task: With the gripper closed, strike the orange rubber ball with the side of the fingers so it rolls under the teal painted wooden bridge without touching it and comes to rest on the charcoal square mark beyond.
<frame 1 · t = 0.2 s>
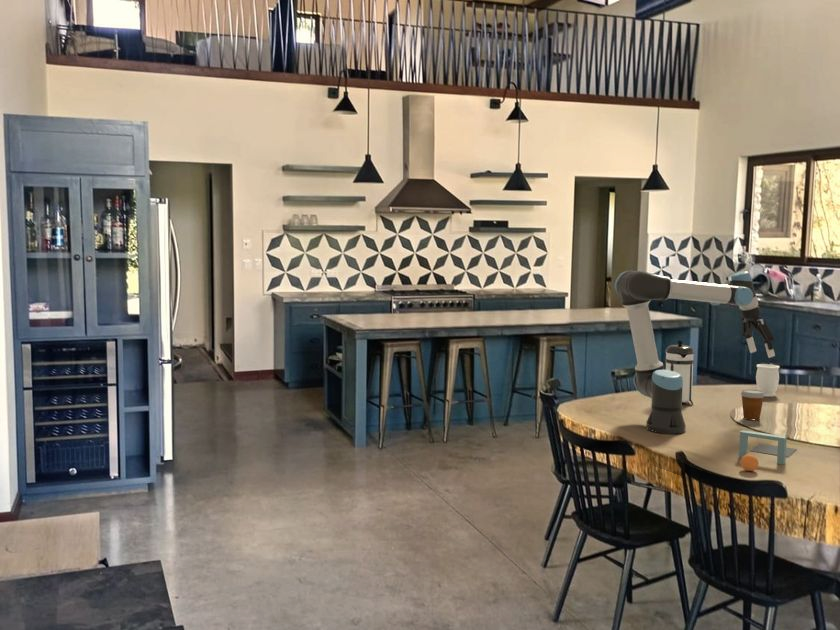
hand: (762, 354, 325), 28 cm above the table, tool tilted 20°, fingers open, 13 cm apart
bridge: (761, 460, 265), on the table
ball: (749, 462, 253), on the table
disposable coffee cup: (751, 419, 328), on the table
jar: (766, 395, 378), on the table
coffee press: (676, 402, 361), on the table
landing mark: (773, 450, 278), on the table
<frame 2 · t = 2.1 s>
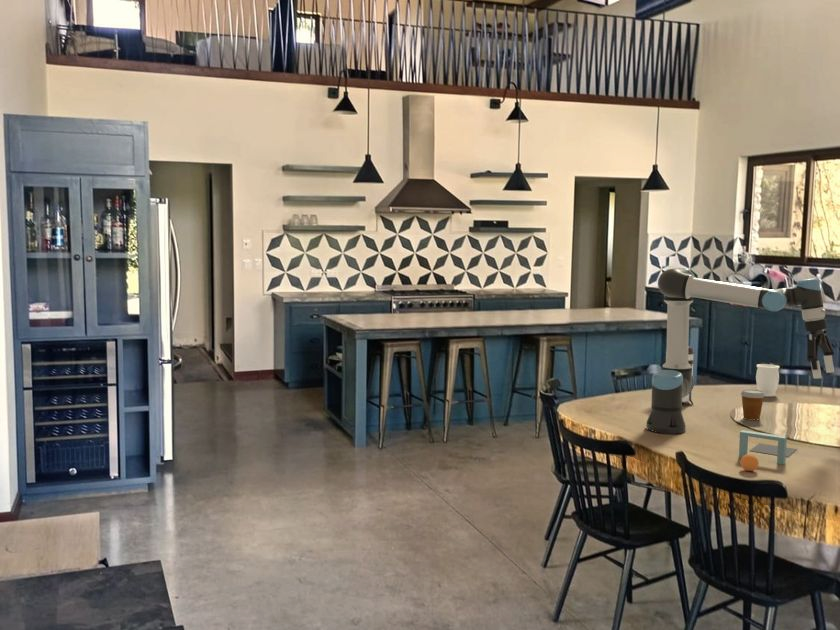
hand: (824, 375, 287), 26 cm above the table, tool pointing down, fingers open, 13 cm apart
nothing on the table moved.
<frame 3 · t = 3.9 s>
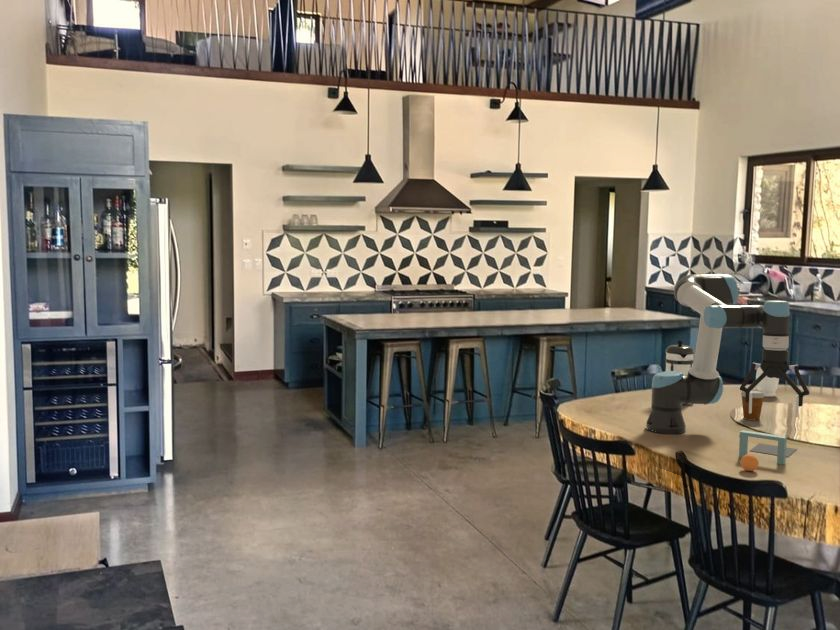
hand: (773, 414, 246), 20 cm above the table, tool pointing down, fingers open, 13 cm apart
nothing on the table moved.
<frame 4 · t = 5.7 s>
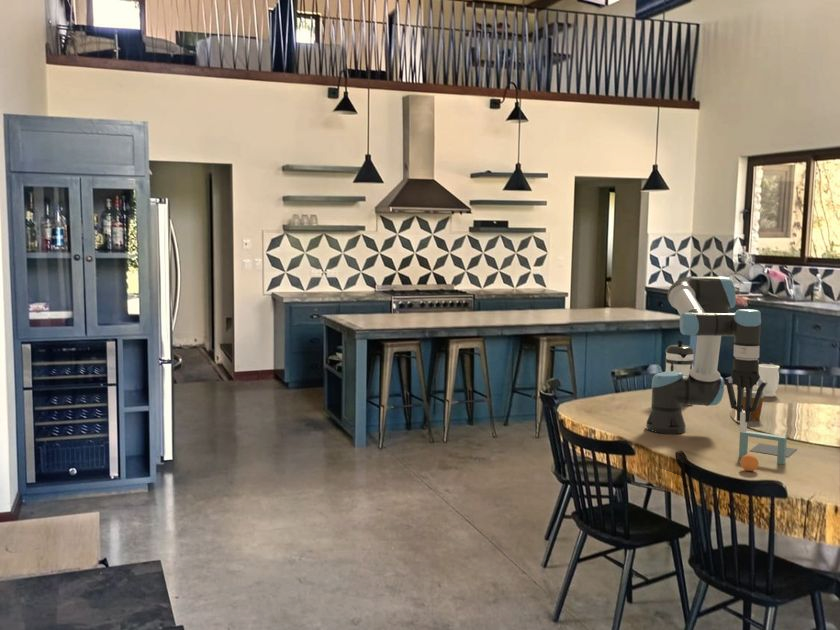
hand: (743, 431, 244), 15 cm above the table, tool pointing down, fingers closed
nothing on the table moved.
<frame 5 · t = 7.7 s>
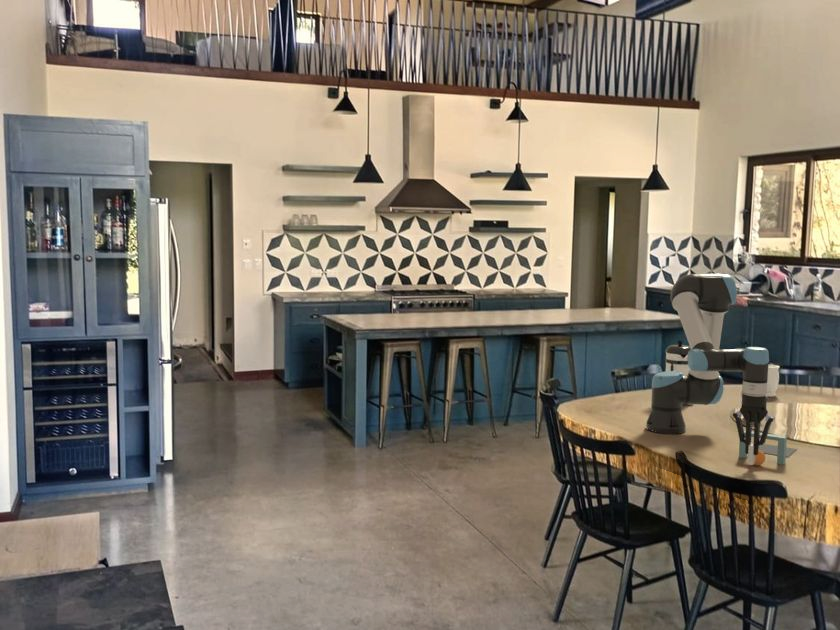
hand: (751, 463, 255), 2 cm above the table, tool pointing down, fingers closed
ball: (756, 457, 259), on the table
everything else where it was.
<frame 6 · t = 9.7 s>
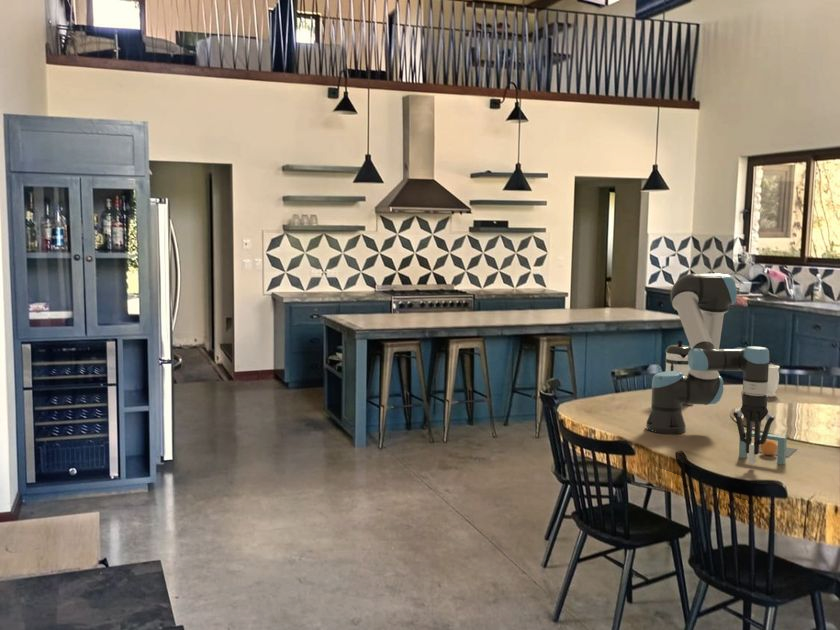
hand: (751, 463, 255), 2 cm above the table, tool pointing down, fingers closed
ball: (768, 447, 272), on the table
everything else where it was.
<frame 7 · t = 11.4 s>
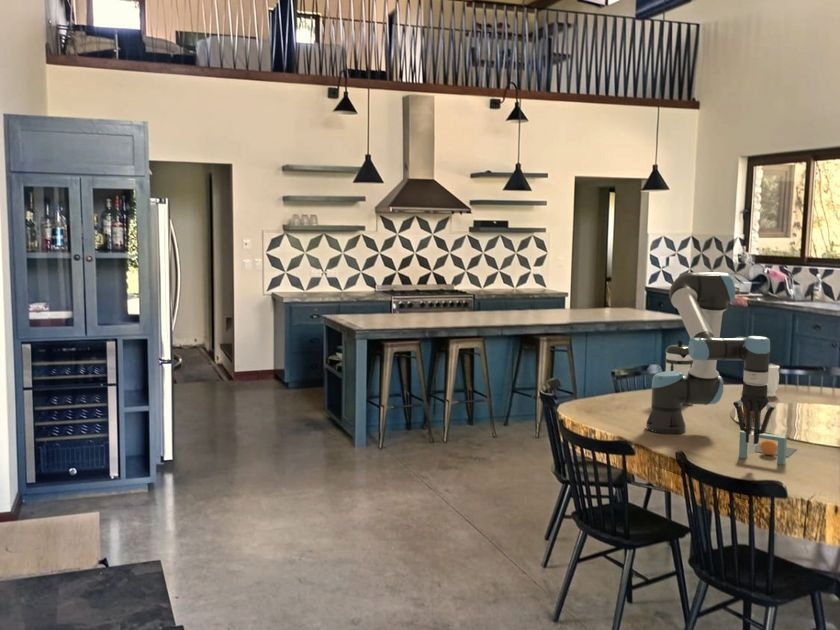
hand: (751, 452, 255), 5 cm above the table, tool pointing down, fingers closed
nothing on the table moved.
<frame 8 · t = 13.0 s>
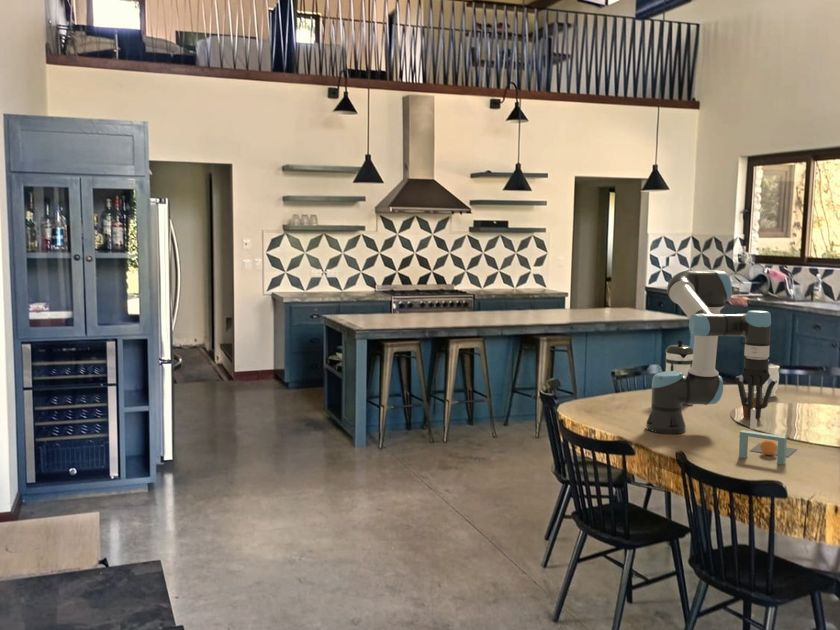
hand: (753, 427, 254), 14 cm above the table, tool pointing down, fingers closed
nothing on the table moved.
at the end: ball 7.7 cm from the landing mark (horizontally); ball never touched bridge; ball at rest at the end (0.0 cm/s) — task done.
